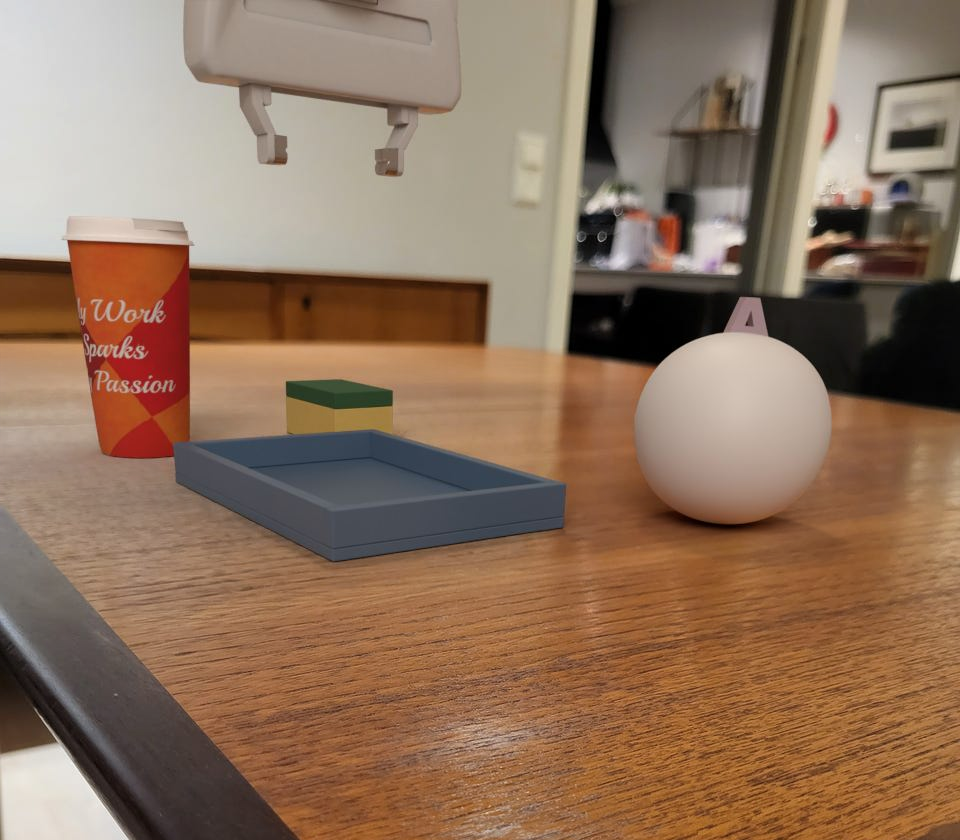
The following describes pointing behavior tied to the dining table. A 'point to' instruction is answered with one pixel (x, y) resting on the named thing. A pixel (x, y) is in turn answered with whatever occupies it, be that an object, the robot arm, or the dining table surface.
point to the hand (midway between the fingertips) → (333, 170)
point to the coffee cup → (134, 329)
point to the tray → (367, 491)
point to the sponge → (337, 407)
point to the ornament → (733, 424)
